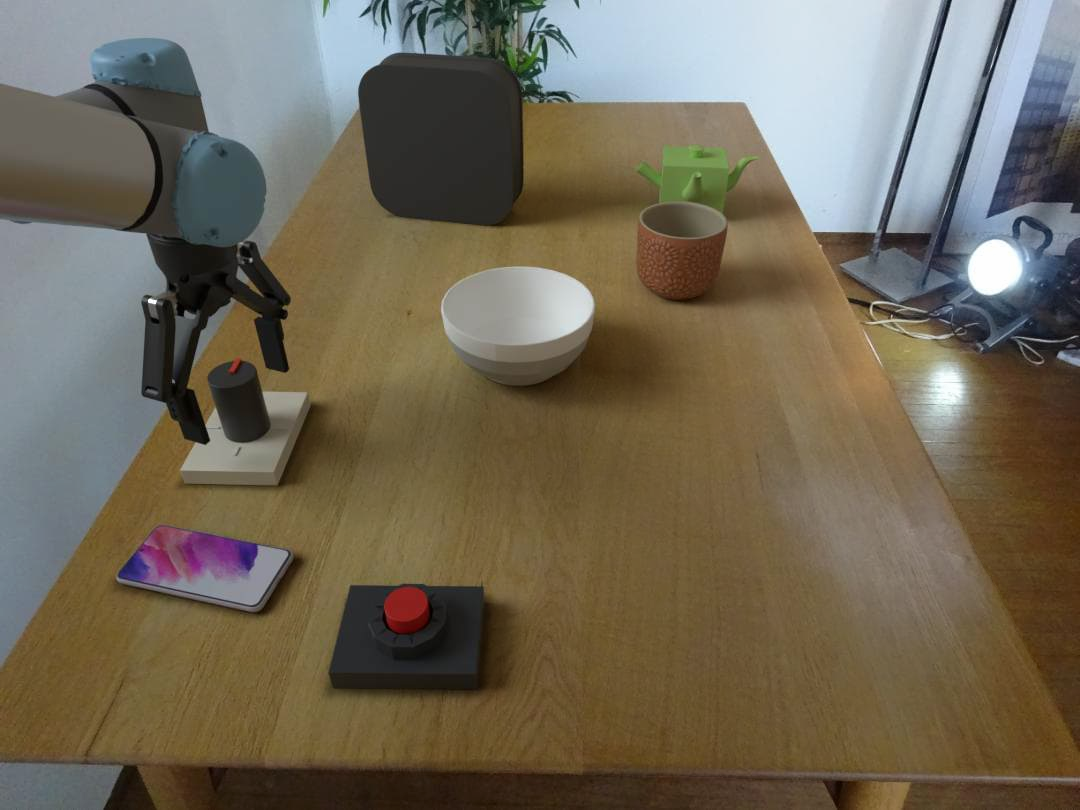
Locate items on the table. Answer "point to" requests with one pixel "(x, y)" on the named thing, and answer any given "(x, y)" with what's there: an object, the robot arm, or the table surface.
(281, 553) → the smartphone
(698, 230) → the planter
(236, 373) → the dial
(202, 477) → the panel
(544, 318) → the bowl
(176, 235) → the robot arm
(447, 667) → the switch box
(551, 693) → the table surface
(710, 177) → the kettle
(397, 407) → the table surface
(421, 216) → the speaker
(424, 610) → the power button
